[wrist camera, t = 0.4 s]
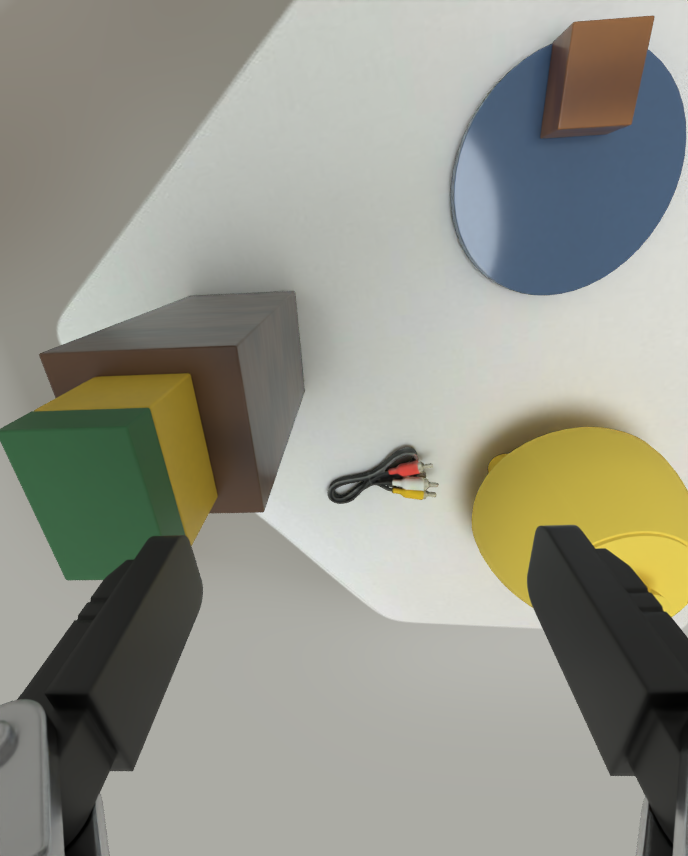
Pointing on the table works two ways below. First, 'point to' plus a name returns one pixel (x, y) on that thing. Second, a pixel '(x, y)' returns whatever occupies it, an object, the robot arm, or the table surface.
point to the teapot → (587, 507)
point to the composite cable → (389, 479)
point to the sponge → (113, 468)
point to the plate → (563, 183)
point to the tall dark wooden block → (211, 378)
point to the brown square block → (595, 76)
